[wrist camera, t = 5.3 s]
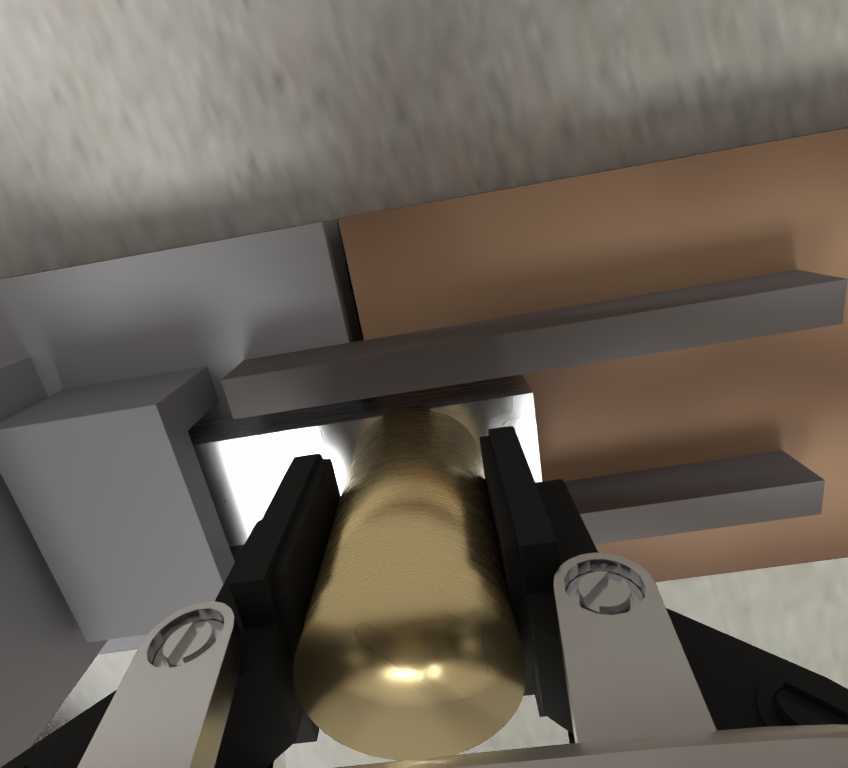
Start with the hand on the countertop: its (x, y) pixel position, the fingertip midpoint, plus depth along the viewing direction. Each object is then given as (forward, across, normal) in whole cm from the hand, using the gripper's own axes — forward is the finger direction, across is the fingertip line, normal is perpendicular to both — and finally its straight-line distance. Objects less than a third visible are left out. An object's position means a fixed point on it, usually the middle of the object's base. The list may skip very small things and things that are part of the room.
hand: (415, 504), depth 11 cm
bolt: (+3, +2, 0) cm, 4 cm away
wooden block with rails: (+5, -5, 0) cm, 7 cm away
